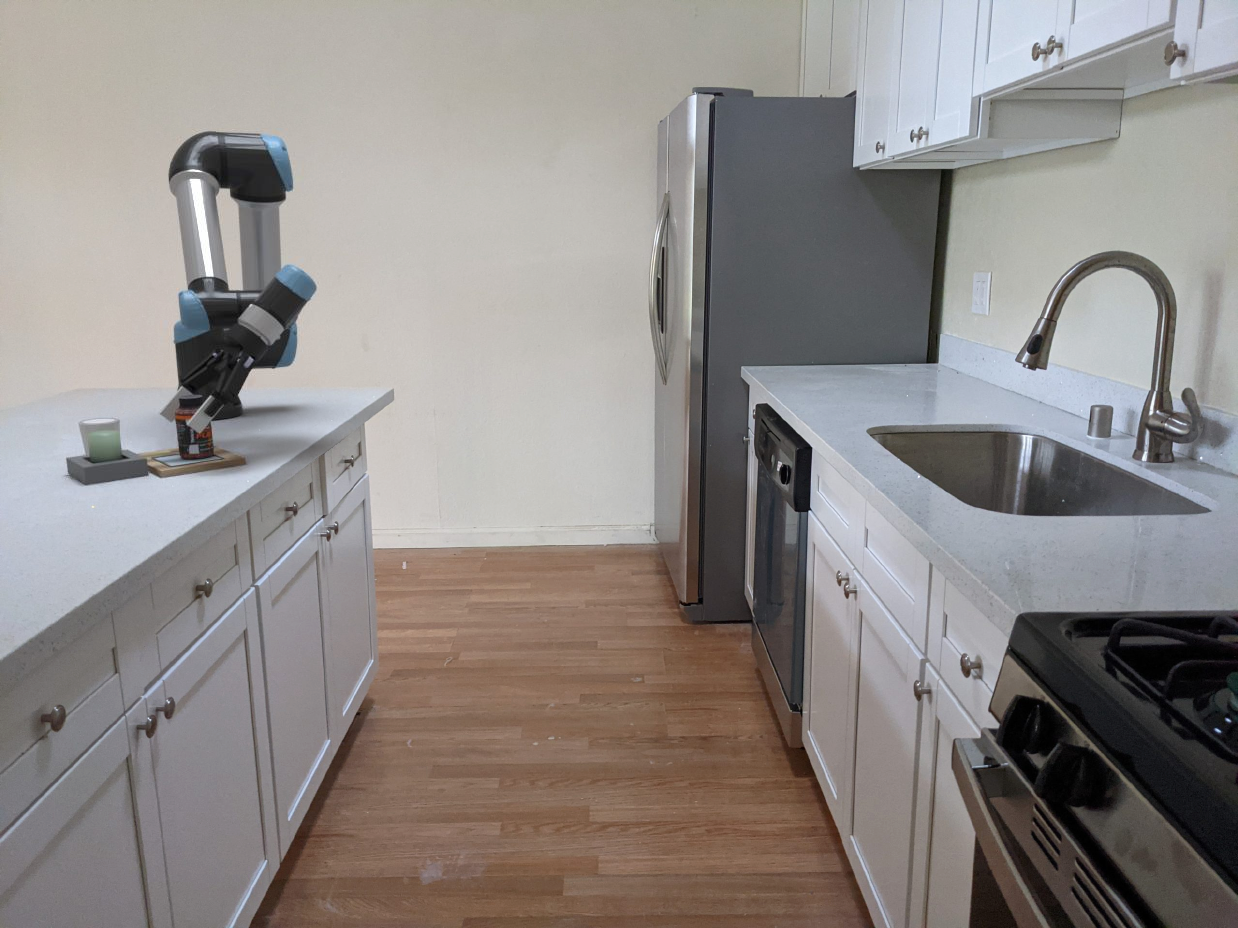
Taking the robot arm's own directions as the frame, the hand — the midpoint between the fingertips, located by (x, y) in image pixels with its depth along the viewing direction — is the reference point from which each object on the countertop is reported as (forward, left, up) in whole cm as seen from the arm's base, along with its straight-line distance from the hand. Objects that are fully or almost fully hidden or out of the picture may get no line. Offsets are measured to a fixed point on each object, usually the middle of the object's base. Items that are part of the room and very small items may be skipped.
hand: (178, 423), depth 168 cm
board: (-2, +2, -8) cm, 8 cm away
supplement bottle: (-1, +3, -7) cm, 8 cm away
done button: (-2, -12, -5) cm, 13 cm away
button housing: (-2, -12, -8) cm, 15 cm away
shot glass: (-18, -8, -8) cm, 21 cm away
